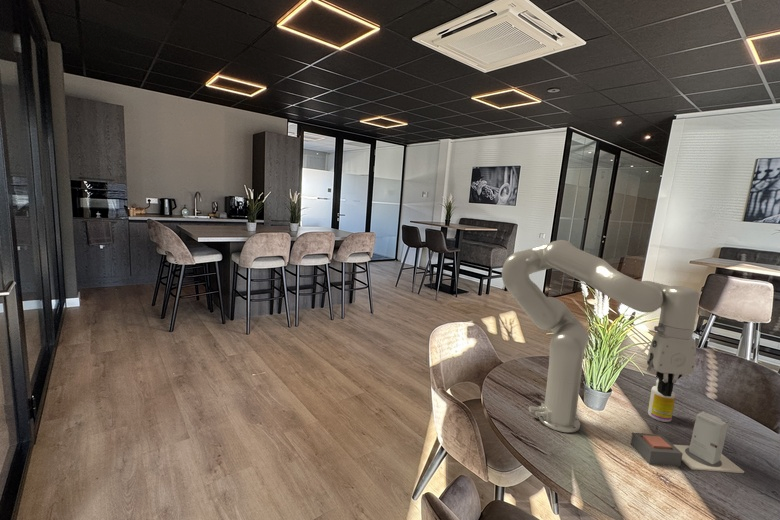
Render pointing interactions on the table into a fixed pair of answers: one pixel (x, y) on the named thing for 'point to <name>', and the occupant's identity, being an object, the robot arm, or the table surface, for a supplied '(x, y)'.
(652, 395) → the supplement bottle
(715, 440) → the skincare box
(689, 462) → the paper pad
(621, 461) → the table surface
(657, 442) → the button
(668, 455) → the button housing
